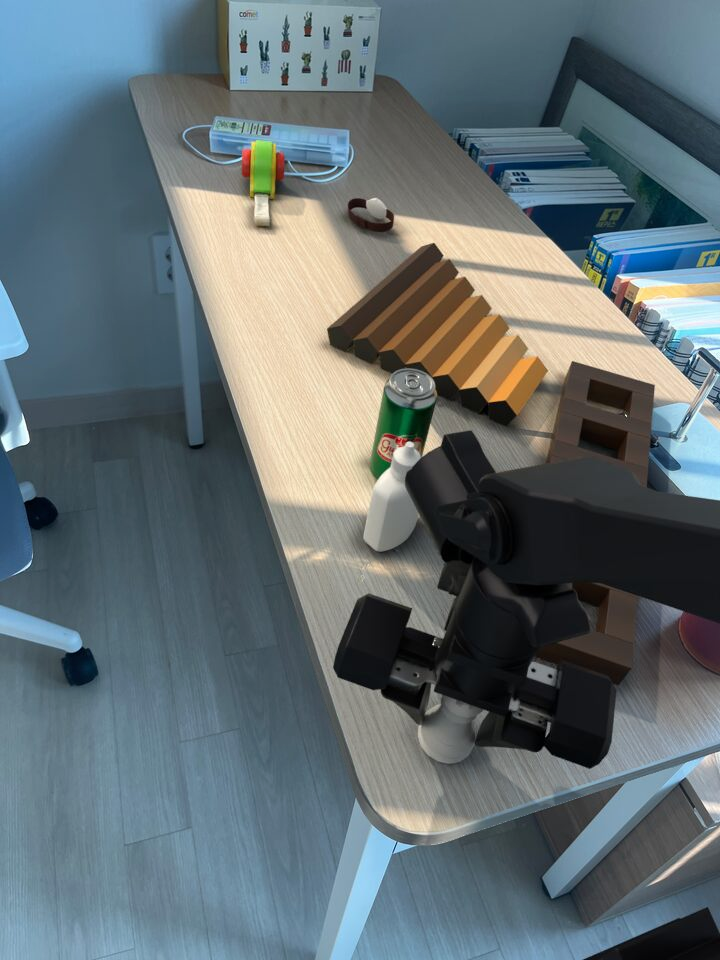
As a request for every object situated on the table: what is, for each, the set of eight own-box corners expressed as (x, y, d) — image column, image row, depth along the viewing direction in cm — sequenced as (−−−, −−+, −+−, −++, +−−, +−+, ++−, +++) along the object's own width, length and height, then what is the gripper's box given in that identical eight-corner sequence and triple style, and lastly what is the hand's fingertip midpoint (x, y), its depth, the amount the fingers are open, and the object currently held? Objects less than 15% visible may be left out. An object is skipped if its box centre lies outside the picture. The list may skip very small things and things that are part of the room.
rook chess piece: (406, 722, 60) (424, 673, 54) (455, 703, 61) (477, 653, 55) (433, 775, 57) (455, 728, 51) (483, 753, 59) (510, 706, 53)
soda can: (367, 486, 76) (384, 397, 68) (370, 451, 80) (386, 362, 71) (416, 493, 77) (440, 404, 68) (417, 457, 80) (439, 369, 71)
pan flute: (418, 259, 108) (325, 342, 92) (422, 238, 105) (327, 319, 89) (582, 327, 101) (512, 429, 85) (591, 305, 98) (520, 406, 83)
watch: (399, 227, 113) (402, 204, 111) (382, 239, 110) (385, 216, 108) (356, 208, 116) (359, 186, 113) (339, 219, 113) (341, 196, 110)
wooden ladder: (618, 686, 64) (632, 668, 62) (504, 646, 66) (514, 628, 63) (645, 403, 91) (655, 384, 89) (564, 380, 93) (572, 360, 90)
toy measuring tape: (283, 168, 122) (285, 127, 117) (283, 230, 109) (285, 186, 104) (243, 165, 121) (243, 123, 116) (238, 227, 108) (238, 182, 103)
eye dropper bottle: (355, 520, 73) (371, 430, 65) (409, 512, 75) (432, 423, 66) (367, 555, 70) (386, 466, 62) (423, 546, 72) (449, 459, 63)
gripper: (657, 569, 51) (580, 682, 62) (394, 484, 53) (366, 607, 65) (648, 714, 43) (562, 812, 55) (342, 607, 46) (321, 722, 57)
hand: (449, 729), depth 58 cm, fingers closed on rook chess piece, 4 cm apart
